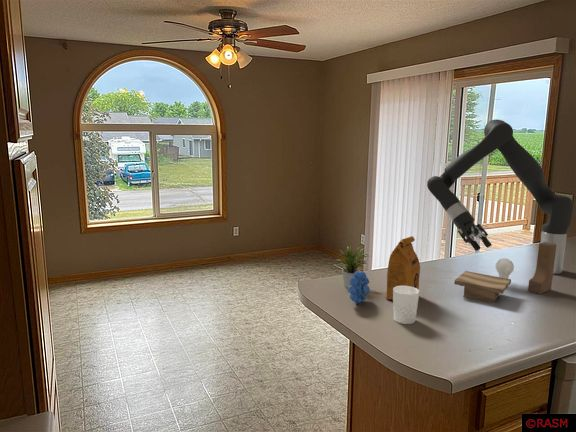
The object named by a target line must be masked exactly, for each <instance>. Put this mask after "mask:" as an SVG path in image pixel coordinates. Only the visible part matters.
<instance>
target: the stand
mask: <svg viewBox="0 0 576 432" xmlns="http://www.w3.org/2000/svg"><path fill="white" fill-rule="evenodd" d="M511 283H512V279H511V278H508V279H507V278H501V277H499V276H495V275H489V274H484V273H479V272H474V271H468V270H465V271H463V272H462V273H461V274H460V275H459V276H458V277H457V278H455V279H454V283H453V284H454V285H455V286H462V287H463V297H464V298H465V297H466V298H470V299H474V300H479V301H483V302H488V303H494V302H496V300H497V299H498V297H499V296H500V295H503V294H504V293H505V291H507V288H509V286H510V285H511Z"/></svg>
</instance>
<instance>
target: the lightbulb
mask: <svg viewBox="0 0 576 432" xmlns="http://www.w3.org/2000/svg"><path fill="white" fill-rule="evenodd" d="M495 269H496V272H497V274H498V277H501V278H507V279H509V278H510V277H509V276H510V275H512V273H513V272H514V269H515V265H514V263H513V261H511V260H510V259H508V258H505V257H504V258H499V259H498V260H497V261H496V262H495Z"/></svg>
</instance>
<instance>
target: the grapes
mask: <svg viewBox="0 0 576 432" xmlns="http://www.w3.org/2000/svg"><path fill="white" fill-rule="evenodd" d="M360 271H361V270H360ZM350 283H351V284H352V285H351V286H349V287H348V288H347V290H348V293H349V299H350V301H352V302H354V303H355V304H357V305H359V304H361V303H362V302H363V301H366V299H367V297H368V296H367V294H368V293H370V291H371V288H370V286H369V283H370V280H369V278H368V277H367V273H366V272H364V271H361V272H359V271H356V272H355V273H354V277H351V278H350Z"/></svg>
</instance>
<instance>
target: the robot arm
mask: <svg viewBox="0 0 576 432" xmlns="http://www.w3.org/2000/svg"><path fill="white" fill-rule="evenodd" d="M483 129H484V130H483V132H484V138H483V139H481V141H480V142H478V143H477V144H476V145H475V146H473V147H472V148H470V149H468V150H467V151H465V152H463V153H461V154H460V155H458V156H457V157H456V158H454V159H453V160H452V161H451V162H449V164H447V165H446V167H445V168H444V172H443V173H442V174H441V175H440V176H438V175H437V176H436V175H435V176H431V177H429V179H428V180H427V182H426V186H427V189H428V191H429V192H430V193H431V195H432V196H434V198H435V199H436V200H437V201H438V202H439V204H440V205H441V207H442V208H443V209H444V211H445V212H446V213H447V215H448V217H449V219H450V220H451V221H452V222H453V224H454V226H455V227H456V228H457V233H458V234H459V235H460V237H461V239H462V240H463V241H464V242H465V244H467V243H468V244H470V245H471V247H472V248H473V249H474V251H476V252H478V251H479V250H480V249H481V246H480V245H479V243H478V242H477V241H476V240H475V238H476V239H479V240H481V242H482V243H483V245H484V246H485V247H486V248H490V247H492V245H493V244H492V243H491V242H490V240H489V239H488V238H487V237H488V235H489V233H488V232H487V231H486V229H484V227H483V226H482V225H481V224H480V223H478V224H475V223H474V222H475V218H474V216H473V215H472V214H471V212H470V211H469V209H468V208H467V207H466V206H465V205H464V203H462V202H461V200H460V199H459V198H458V197H457V195H456V194H455V193H454V192H452V190H450V189H451V187H452V186H453V185H454V184H455V182H456V181H457V180H458V179H459V178H460V177H462V176H463V175H464V174H465V173H467V172H468V170H470V169H472V167H473V166H474V165H476V164H477V163H479V162H480V161H481V160H483V159H484V158H486V157H487V156H489V155H490V154H491V153H493V152H495V151H496V150H498V151H499V152H500V153H501V155H502V157H503V158H504V160H505V162H506V164H507V165H508V166H509V168H510V169H511V170H512V171H513V173H514V174H515V176H516V177H517V178H518V179H519V181H520V182H521V183H522V184H523V185H524V186H525V187H526V189H527V191H529V193H530V194H531V195H532V196H533V198H534V199H535V201H536V203H537V205H538V207H540V208H539V209H541V211H542V212H543V213H544V214H546V215H548V216H550V217H549V218H550V219H549V221H548V222H547V223H543V224H542V225H541V226H542V227H541V235H540V243H543V242H548V243H553V244H556V254H555V262H554V270H553V275H554V274H557V275H558V274H562V273H563V266H564V260H565V259H564V258H565V251H566V246H567V245H566V243H567V236H568V235H567V234H568V230H569V229H570V227H571V223H572V218H573V213H574V203H573V199H571V198H570V197H569V196H566V195H561V194H557V193H556V192H554V191H553V190H552V189H551V188H550V187H549V186H548V184H547V182H546V179H545V173H544V170H543V168H542V166H541V165H540V164H539V162H538V161H537V160H536V159H535V157H534V156H532V154H531V153H530V152H529V151H528V150H526V149H525V148H524V147H523V146H522V145H521V144H520V143H519V142H518V141H517V140H516V139H515V137H514V136H513V135H514V130H513V127H512V125H511V124H509V123H508V122H506V121H505V120H503V119H491V120H490V121H488V122H487V123H486V124H485V126H484V128H483Z"/></svg>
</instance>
